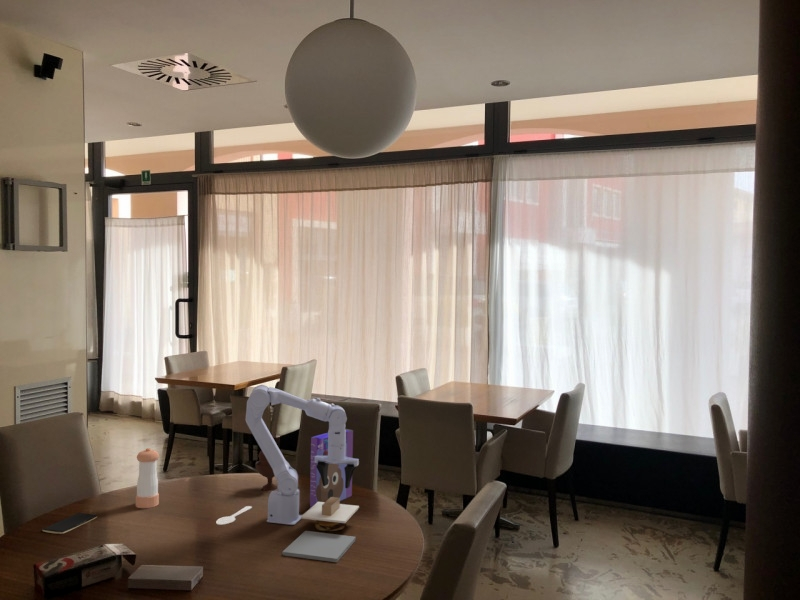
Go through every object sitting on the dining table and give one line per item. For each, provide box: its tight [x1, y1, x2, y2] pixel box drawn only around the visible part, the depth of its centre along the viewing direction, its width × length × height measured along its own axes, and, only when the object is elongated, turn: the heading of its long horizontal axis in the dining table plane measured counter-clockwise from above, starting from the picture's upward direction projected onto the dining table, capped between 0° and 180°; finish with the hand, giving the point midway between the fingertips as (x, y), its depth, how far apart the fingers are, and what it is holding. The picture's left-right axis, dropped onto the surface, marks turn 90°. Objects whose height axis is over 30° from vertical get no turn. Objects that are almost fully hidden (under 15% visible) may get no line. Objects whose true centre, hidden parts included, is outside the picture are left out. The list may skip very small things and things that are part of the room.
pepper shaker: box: [135, 447, 160, 509], centre depth 211 cm, size 7×7×19 cm
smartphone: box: [42, 512, 98, 535], centre depth 192 cm, size 7×1×15 cm
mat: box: [282, 530, 357, 563], centre depth 178 cm, size 16×16×1 cm
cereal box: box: [309, 428, 354, 508], centre depth 217 cm, size 17×5×24 cm, turn 148°
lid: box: [301, 497, 360, 524], centre depth 194 cm, size 14×14×4 cm
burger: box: [314, 520, 347, 532], centre depth 194 cm, size 10×9×5 cm
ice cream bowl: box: [254, 450, 278, 492], centre depth 231 cm, size 11×11×15 cm
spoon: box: [215, 505, 253, 526], centre depth 202 cm, size 5×18×1 cm, turn 161°
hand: (336, 486), depth 201 cm, fingers open, 7 cm apart
